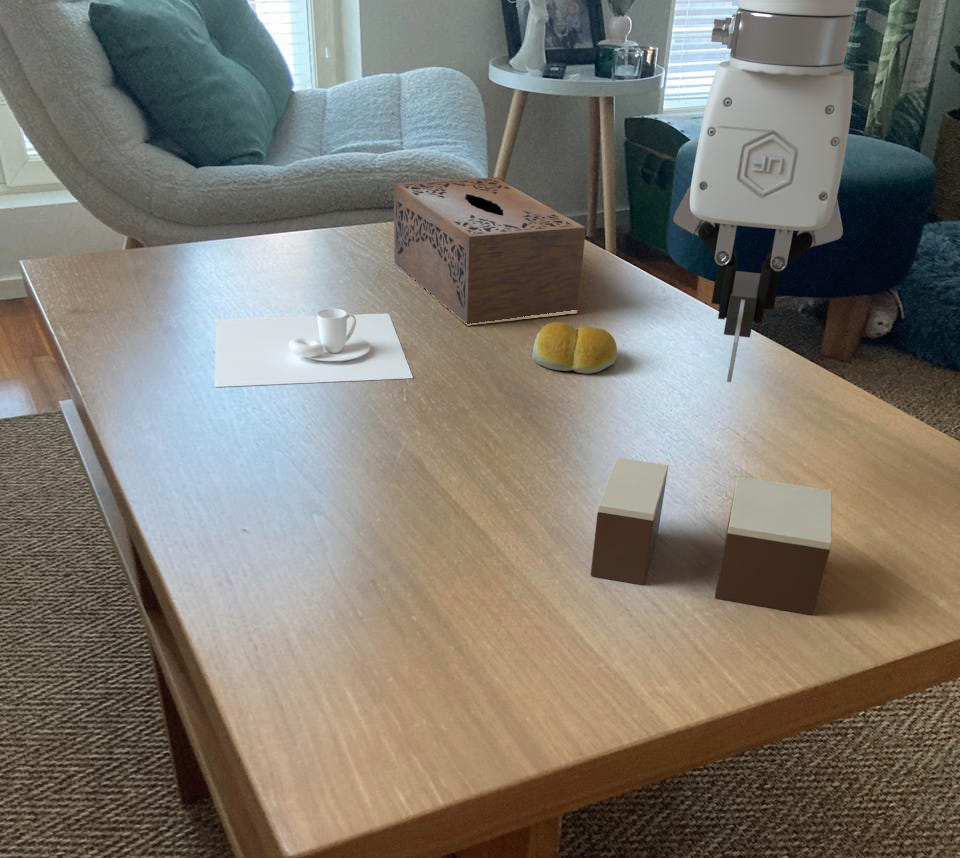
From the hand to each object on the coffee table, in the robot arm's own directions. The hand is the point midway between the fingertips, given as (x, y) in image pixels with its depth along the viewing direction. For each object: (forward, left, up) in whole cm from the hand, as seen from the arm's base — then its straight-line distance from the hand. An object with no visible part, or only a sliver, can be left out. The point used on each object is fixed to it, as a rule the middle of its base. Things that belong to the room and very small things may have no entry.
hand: (740, 314), depth 80 cm
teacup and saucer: (+45, -19, -15) cm, 51 cm away
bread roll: (+17, -25, -15) cm, 33 cm away
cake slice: (+5, +13, -15) cm, 21 cm away
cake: (-5, +13, -15) cm, 21 cm away
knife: (0, +4, -1) cm, 4 cm away
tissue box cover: (+33, -46, -15) cm, 58 cm away
